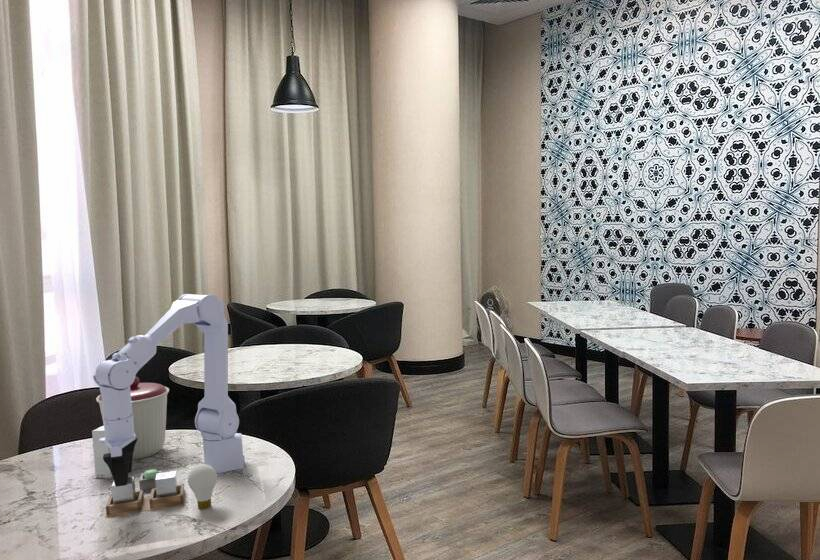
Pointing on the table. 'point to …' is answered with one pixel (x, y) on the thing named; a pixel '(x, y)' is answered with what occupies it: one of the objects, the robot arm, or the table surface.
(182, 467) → the table surface
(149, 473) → the button
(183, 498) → the wooden divided tray
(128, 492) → the billet
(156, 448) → the canister
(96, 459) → the skincare box
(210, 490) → the light bulb
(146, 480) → the button housing
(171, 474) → the seated billet
